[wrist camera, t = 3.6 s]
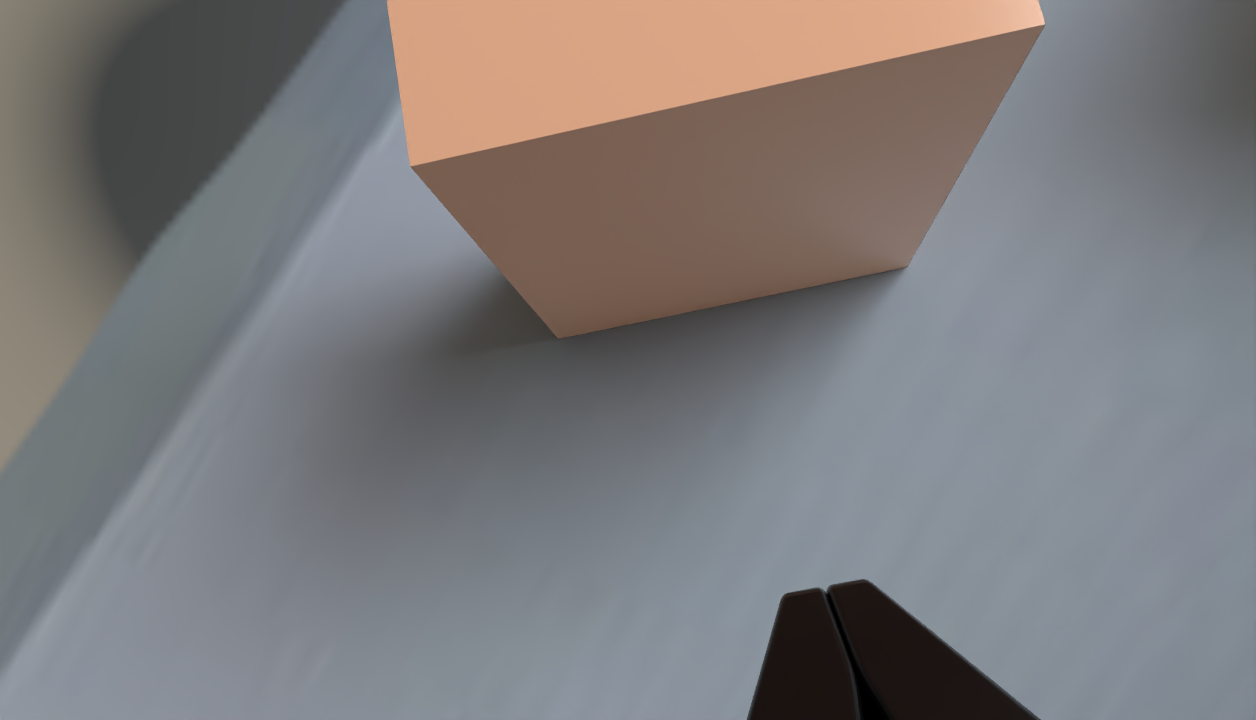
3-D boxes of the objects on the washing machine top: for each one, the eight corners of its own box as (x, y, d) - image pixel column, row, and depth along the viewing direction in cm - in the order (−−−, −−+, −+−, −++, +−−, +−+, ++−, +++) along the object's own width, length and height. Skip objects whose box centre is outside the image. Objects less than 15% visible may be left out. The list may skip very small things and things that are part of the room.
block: (907, 267, 21) (1044, 24, 12) (558, 339, 22) (410, 165, 12) (879, 160, 22) (988, -157, 12) (540, 233, 22) (384, -13, 13)
